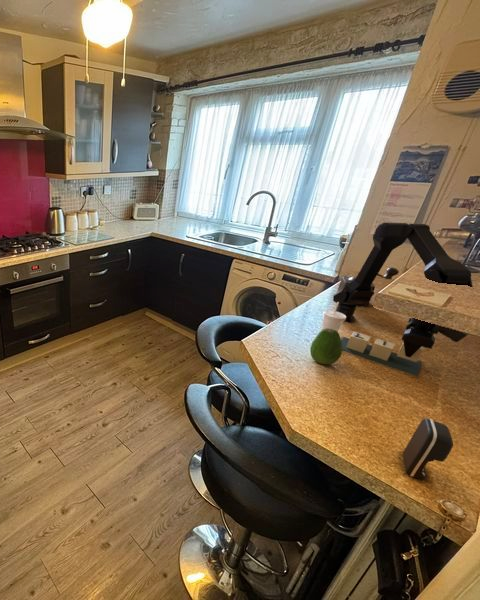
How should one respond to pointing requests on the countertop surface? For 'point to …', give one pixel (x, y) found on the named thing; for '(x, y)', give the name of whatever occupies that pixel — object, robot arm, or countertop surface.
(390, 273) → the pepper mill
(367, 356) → the word mat
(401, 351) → the tile
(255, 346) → the countertop surface
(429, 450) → the battery charger
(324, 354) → the avocado
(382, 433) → the countertop surface
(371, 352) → the tile
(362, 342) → the tile
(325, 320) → the smoothie
